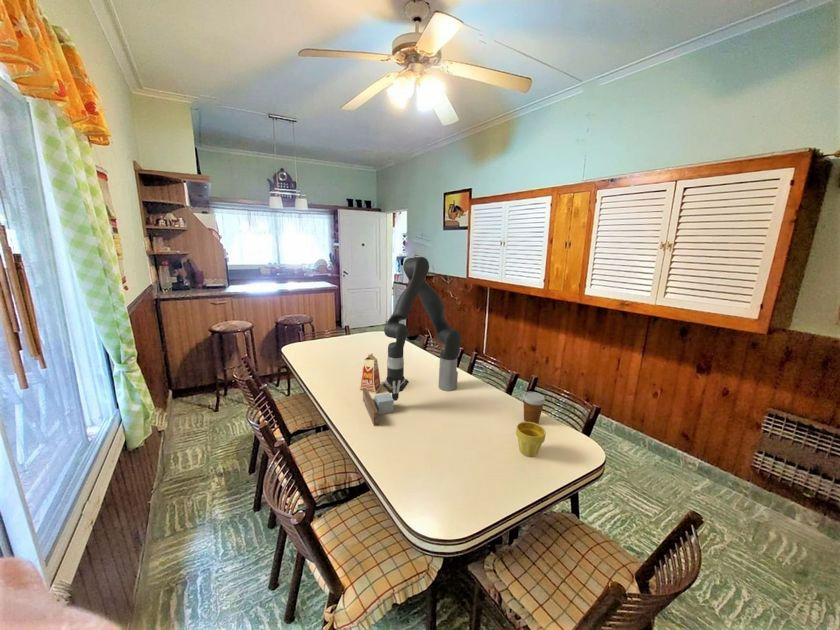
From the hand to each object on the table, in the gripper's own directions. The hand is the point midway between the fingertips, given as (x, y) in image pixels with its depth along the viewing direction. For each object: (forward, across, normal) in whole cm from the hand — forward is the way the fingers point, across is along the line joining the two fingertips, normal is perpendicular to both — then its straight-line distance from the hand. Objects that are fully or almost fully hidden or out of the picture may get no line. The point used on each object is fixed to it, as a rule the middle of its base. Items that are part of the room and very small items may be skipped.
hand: (395, 399), depth 152 cm
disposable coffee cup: (+5, -55, +29) cm, 62 cm away
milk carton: (+4, +7, -23) cm, 24 cm away
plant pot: (+4, -39, +47) cm, 61 cm away
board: (+4, +12, 0) cm, 13 cm away
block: (+4, +5, 0) cm, 7 cm away
